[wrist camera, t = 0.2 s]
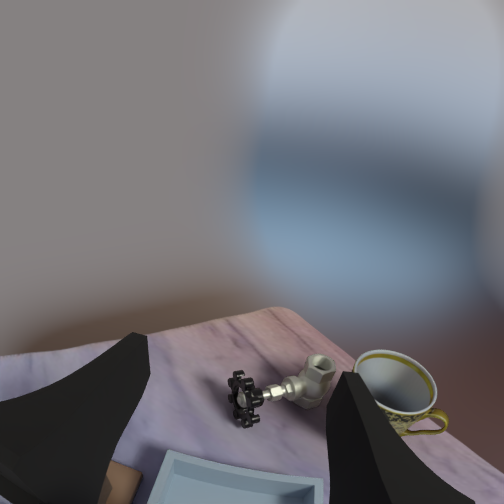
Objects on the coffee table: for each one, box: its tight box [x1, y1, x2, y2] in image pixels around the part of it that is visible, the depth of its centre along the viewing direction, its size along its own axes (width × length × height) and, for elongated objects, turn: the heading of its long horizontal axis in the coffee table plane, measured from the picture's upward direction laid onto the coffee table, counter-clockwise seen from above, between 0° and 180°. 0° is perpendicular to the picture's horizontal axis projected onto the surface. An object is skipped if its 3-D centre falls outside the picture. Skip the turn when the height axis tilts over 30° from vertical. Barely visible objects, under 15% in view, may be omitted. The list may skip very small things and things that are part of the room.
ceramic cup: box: [352, 350, 449, 437], centre depth 29 cm, size 13×10×10 cm
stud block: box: [106, 460, 143, 504], centre depth 17 cm, size 10×8×4 cm
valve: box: [228, 354, 336, 429], centre depth 34 cm, size 7×7×12 cm
